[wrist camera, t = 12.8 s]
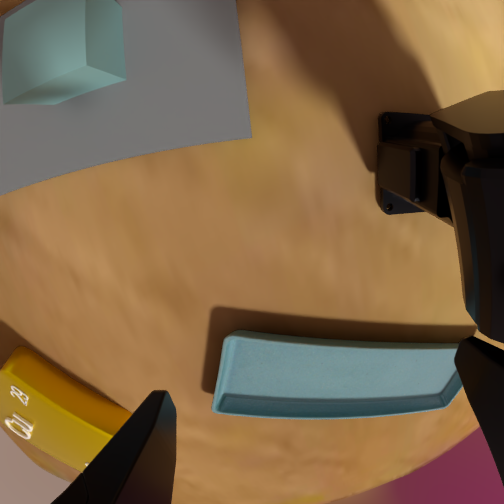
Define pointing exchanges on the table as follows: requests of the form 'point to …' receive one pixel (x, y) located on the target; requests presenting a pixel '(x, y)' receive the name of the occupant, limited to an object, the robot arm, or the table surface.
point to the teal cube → (61, 50)
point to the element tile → (55, 410)
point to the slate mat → (137, 96)
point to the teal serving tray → (331, 377)
